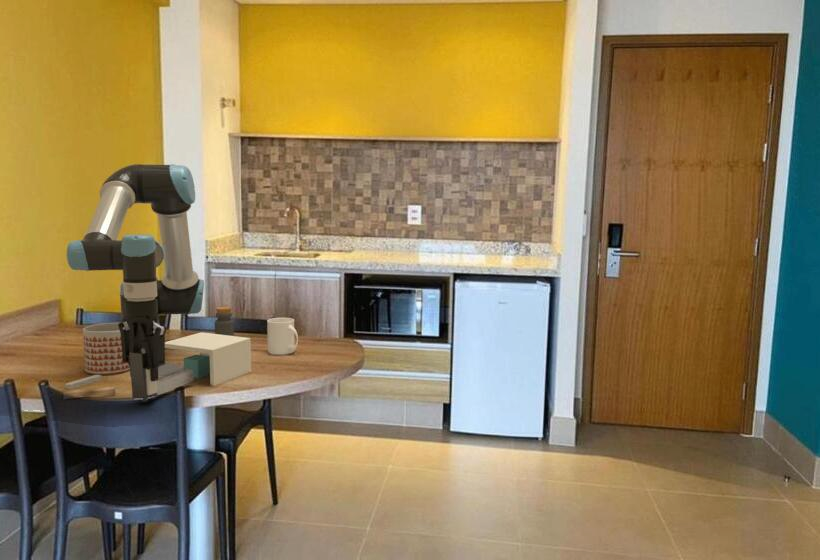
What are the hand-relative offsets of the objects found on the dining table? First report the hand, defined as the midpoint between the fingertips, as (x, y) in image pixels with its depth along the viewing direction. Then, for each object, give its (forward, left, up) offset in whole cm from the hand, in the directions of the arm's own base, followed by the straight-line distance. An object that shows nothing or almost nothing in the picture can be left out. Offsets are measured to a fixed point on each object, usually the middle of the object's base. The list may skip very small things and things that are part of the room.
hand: (145, 392), depth 163 cm
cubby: (-3, +26, -3) cm, 26 cm away
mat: (-13, +25, -3) cm, 28 cm away
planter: (-33, +19, -3) cm, 38 cm away
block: (-6, +25, -2) cm, 25 cm away
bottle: (-16, +49, -3) cm, 52 cm away
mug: (+1, +58, -3) cm, 58 cm away
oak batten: (-17, -2, -3) cm, 17 cm away
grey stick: (-28, +5, -3) cm, 28 cm away
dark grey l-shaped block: (0, +7, -1) cm, 7 cm away
